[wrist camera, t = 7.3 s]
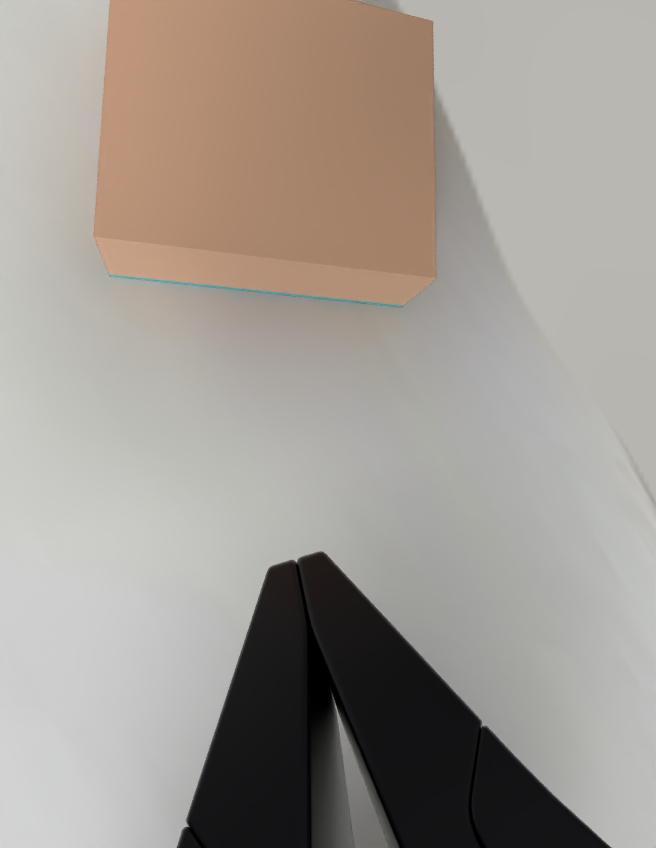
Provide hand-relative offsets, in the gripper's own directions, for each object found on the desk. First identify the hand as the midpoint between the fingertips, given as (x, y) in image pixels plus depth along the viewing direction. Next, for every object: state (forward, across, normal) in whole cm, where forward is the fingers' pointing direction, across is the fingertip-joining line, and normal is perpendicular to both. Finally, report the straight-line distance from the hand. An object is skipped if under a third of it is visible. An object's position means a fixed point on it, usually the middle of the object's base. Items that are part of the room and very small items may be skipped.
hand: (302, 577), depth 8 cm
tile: (+11, -1, -1) cm, 11 cm away
